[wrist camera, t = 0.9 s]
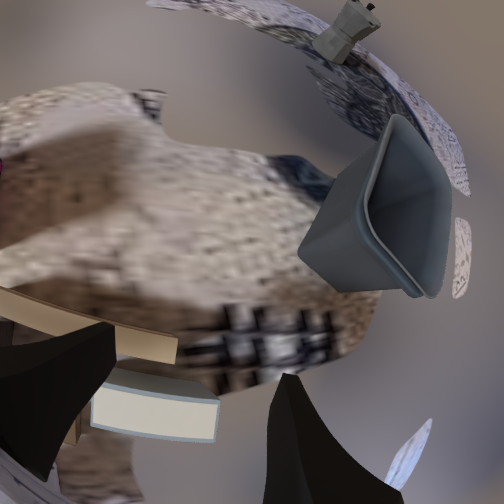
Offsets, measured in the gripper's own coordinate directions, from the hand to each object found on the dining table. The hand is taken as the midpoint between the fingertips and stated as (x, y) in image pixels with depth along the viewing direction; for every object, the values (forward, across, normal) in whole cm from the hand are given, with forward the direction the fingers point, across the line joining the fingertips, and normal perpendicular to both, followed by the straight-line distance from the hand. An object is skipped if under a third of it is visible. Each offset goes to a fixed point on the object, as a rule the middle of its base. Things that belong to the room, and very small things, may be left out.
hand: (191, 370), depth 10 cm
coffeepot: (+54, -6, -43) cm, 69 cm away
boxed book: (+10, +6, +14) cm, 18 cm away
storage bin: (+30, -12, -3) cm, 33 cm away
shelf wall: (+10, +14, +8) cm, 19 cm away
